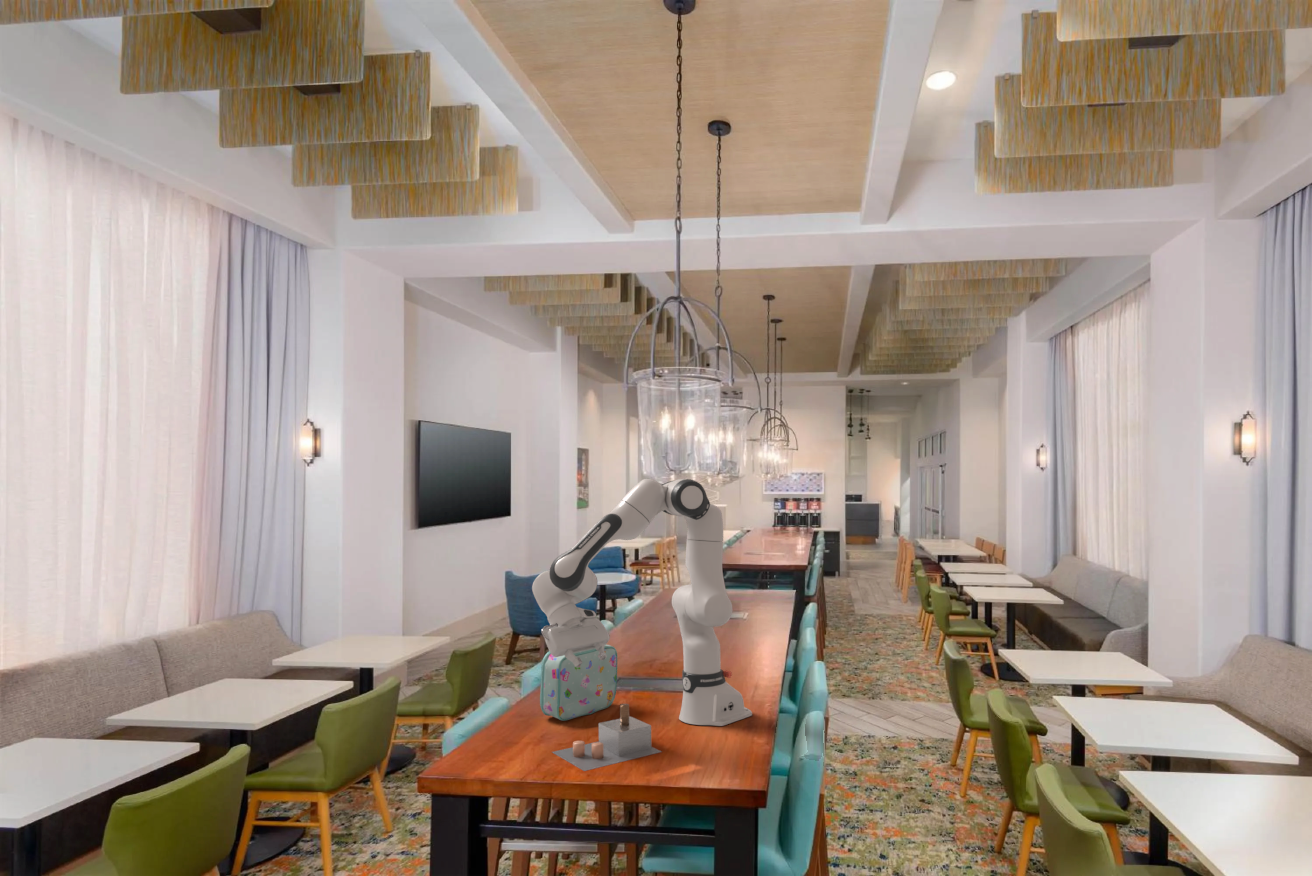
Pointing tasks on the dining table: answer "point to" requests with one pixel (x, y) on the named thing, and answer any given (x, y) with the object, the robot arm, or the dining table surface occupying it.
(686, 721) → the robot arm
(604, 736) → the steel cover
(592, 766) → the tray
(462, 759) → the dining table surface
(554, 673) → the lunch box
